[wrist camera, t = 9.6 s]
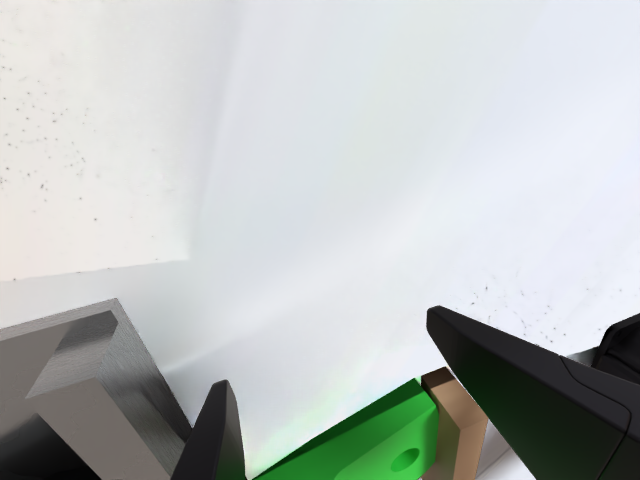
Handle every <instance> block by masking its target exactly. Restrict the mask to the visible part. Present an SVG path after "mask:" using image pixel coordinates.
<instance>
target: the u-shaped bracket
mask: <svg viewBox="0 0 640 480" xmlns="http://www.w3.org/2000/svg"><path fill="white" fill-rule="evenodd" d="M192 429H193V428H192V426H191V425H190V423H189V421H188V419H187V418H186V416H185V414H184V413H183V411H182V409H181V407H180V406H179V404H178V402H177V401H176V399H175V397H174V395H173V394H172V392H171V390H170V389H169V387H168V385H167V383H166V382H165V380H164V378H163V377H162V375H161V373H160V371H159V370H158V368H157V366H156V365H155V363H154V361H153V359H152V358H151V356H150V354H149V353H148V351H147V349H146V347H145V346H144V344H143V342H142V341H141V339H140V337H139V335H138V334H137V332H136V330H135V329H134V327H133V325H132V323H131V322H130V320H129V318H128V317H127V315H126V313H125V311H124V310H123V308H122V306H121V305H120V303H119V301H118V299H117V298H114V299H111V300H107V301H103V302H100V303H96V304H92V305H89V306H85V307H81V308H78V309H74V310H70V311H67V312H63V313H59V314H56V315H52V316H48V317H45V318H41V319H37V320H34V321H30V322H26V323H23V324H19V325H15V326H12V327H8V328H4V329H1V330H0V480H170V478H171V476H172V474H173V471H174V469H175V467H176V465H177V463H178V460H179V458H180V456H181V454H182V451H183V449H184V447H185V445H186V443H187V440H188V438H189V436H190V434H191V431H192Z"/></svg>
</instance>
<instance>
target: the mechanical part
mask: <svg viewBox="0 0 640 480" xmlns="http://www.w3.org/2000/svg"><path fill="white" fill-rule="evenodd" d="M438 424H439V413H438V410H437V408H436V405H435V404H434V402H433V401H432V400H431V398H430V397H429V396H428V395H427V393H426V392H425V391H424V389H423V388H422V387H421V386H420V384H419V383H418V382H417V380H416V379H415V378H413V379H411V380H410V381H408V382H406V383H405V384H403V385H401V386H400V387H398V388H396V389H395V390H393V391H391V392H390V393H388V394H386V395H385V396H383V397H381V398H380V399H378V400H376V401H375V402H373V403H371V404H370V405H368V406H366V407H365V408H363V409H361V410H360V411H358V412H356V413H355V414H353V415H351V416H350V417H348V418H346V419H345V420H343V421H341V422H340V423H338V424H336V425H335V426H333V427H331V428H330V429H328V430H326V431H325V432H323V433H321V434H319V435H318V436H316V437H314V438H313V439H311V440H310V441H308V442H307V443H305V444H304V445H302V446H301V447H299V448H298V449H296V450H295V451H293V452H292V453H290V454H289V455H287V456H286V457H284V458H283V459H282V460H280V461H279V462H277V463H276V464H274V465H273V466H271V467H270V468H268V469H267V470H265V471H264V472H262V473H261V474H259V475H258V476H256V477H255V478H253V479H252V480H417V479H418V478H420V477H421V476H422V475H423V474H424V473H425V472H426V471H427V470H428V469H429V468H430V467H431V466H432V465H433V463H434V462H435V457H436V446H437V435H438Z"/></svg>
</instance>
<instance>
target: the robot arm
mask: <svg viewBox="0 0 640 480" xmlns="http://www.w3.org/2000/svg"><path fill="white" fill-rule="evenodd" d="M426 327H427V331H428V333H429V335H430V336H431V338H432V340H433V341H434V343H435V344H436V346H437V348H438V349H439V351H440V352H441V354H442V356H443V357H444V359H445V360H446V362H447V363H448V365H449V367H450V368H451V370H452V371H453V373H454V374H455V375H456V377H457V378H458V379H459V381H460V382H461V383H462V385H463V386H464V387H465V388H466V390H467V391H468V392H469V394H470V395H471V396H472V397H473V399H474V400H475V401H476V403H477V404H478V405H479V406H480V408H481V409H482V410H483V412H484V413H485V414H486V416H487V417H488V418H489V419H490V421H491V422H492V423H493V425H494V426H495V427H496V428H497V430H498V431H499V432H500V434H501V435H502V436H503V437H504V439H505V440H506V441H507V443H508V444H509V445H510V446H511V448H512V449H513V450H514V452H515V453H516V454H517V455H518V457H519V458H520V459H521V461H522V462H523V463H524V464H525V466H526V467H527V468H528V470H529V471H530V472H531V473H532V475H533V476H534V477H535V479H536V480H640V313H639V314H637V315H634V316H632V317H629V318H627V319H625V320H622V321H620V322H618V323H615V324H613V325H611V326H610V327H609V328H608V329H607V330H606V332H605V334H604V336H603V339H602V341H601V343H600V345H599V348H598V350H597V352H596V355H595V357H594V359H593V362H592V364H591V366H590V367H589V366H586V365H584V364H581V363H579V362H576V361H574V360H571V359H569V358H566V357H564V356H561V355H560V356H559V355H558V354H556V353H554V352H552V351H549V350H547V349H544V348H542V347H539V346H537V345H535V344H532V343H530V342H527V341H525V340H522V339H520V338H518V337H515V336H513V335H510V334H508V333H505V332H503V331H501V330H498V329H496V328H493V327H491V326H489V325H486V324H484V323H481V322H479V321H476V320H474V319H472V318H469V317H467V316H464V315H462V314H459V313H457V312H455V311H452V310H450V309H447V308H445V307H442V306H435V307H432V308H429V309H428V310H427V322H426ZM170 480H245V460H244V451H243V443H242V436H241V429H240V422H239V415H238V408H237V401H236V398H235V395H234V393H233V390H232V388H231V386H230V383H229V381H228V380H222V381H219V382H217V383H214V384H213V385H212V387H211V389H210V391H209V394H208V396H207V398H206V400H205V402H204V405H203V407H202V409H201V411H200V414H199V416H198V418H197V420H196V423H195V425H194V427H193V429H192V431H191V434H190V436H189V438H188V440H187V443H186V445H185V447H184V449H183V451H182V454H181V456H180V458H179V460H178V463H177V465H176V467H175V469H174V471H173V474H172V476H171V478H170Z"/></svg>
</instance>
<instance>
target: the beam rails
mask: <svg viewBox="0 0 640 480" xmlns="http://www.w3.org/2000/svg"><path fill="white" fill-rule="evenodd" d="M421 387H422V388H423V389H424V391H425V392H426V393H427V395H428V396H429V397H430V398H431V400H432V401H433V402H434V404H435V405H436V408H437V410H438V413H439V424H438V435H437V446H436V457H435V462H434V463H433V465H432V466H431V467H430V468H429V469H428V470H427V471H426V472H425V473H424V474H423V475H422V476H421V478H422V480H475V476H476V471H477V467H478V462H479V458H480V453H481V449H482V444H483V440H484V435H485V431H486V426H487V422H488V417H487V416H486V414H485V413H484V412H483V410H482V409H481V408H480V407H479V406H478V404H477V403H476V402H475V401H474V400H473V399H472V397H471V396H470V395H469V394H468V393H467V391H466V390H465V389H464V388H463V387H462V385H461V384H460V383H459V382H458V381H457V380H456V378H455V377H454V376H453V375H452V374H451V372H450V371H449V370H448V369H447V368H446V366H445V367H442V368H440V369H437V370H435V371H432V372H430V373H427V374H425V375H422V376H421ZM245 480H247V478H246V476H245Z"/></svg>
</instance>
